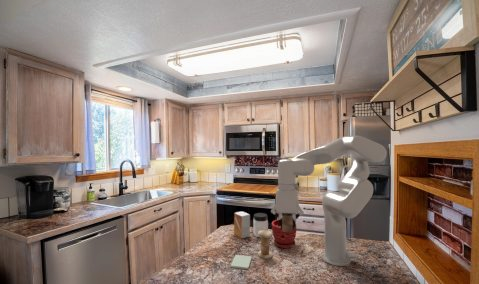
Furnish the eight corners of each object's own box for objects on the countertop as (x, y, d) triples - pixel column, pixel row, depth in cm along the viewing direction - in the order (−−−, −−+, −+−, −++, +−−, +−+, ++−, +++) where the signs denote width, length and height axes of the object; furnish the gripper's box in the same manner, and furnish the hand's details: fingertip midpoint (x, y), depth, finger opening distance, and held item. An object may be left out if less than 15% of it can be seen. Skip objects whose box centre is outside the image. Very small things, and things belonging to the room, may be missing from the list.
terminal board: (251, 258, 105) (251, 256, 105) (248, 269, 96) (248, 267, 96) (235, 256, 107) (235, 254, 107) (230, 267, 97) (230, 265, 97)
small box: (233, 234, 134) (233, 212, 135) (242, 231, 138) (242, 211, 138) (241, 238, 128) (241, 216, 128) (250, 236, 131) (250, 214, 132)
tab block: (292, 228, 100) (292, 210, 100) (292, 232, 95) (292, 213, 96) (282, 227, 101) (281, 210, 101) (282, 231, 96) (282, 213, 96)
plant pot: (273, 238, 128) (273, 217, 128) (296, 241, 124) (296, 219, 125) (270, 248, 115) (270, 225, 116) (296, 251, 112) (296, 228, 112)
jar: (251, 236, 131) (251, 216, 131) (255, 231, 139) (254, 212, 139) (266, 238, 128) (266, 217, 128) (269, 233, 136) (269, 213, 136)
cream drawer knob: (272, 252, 111) (272, 230, 111) (271, 259, 104) (271, 236, 104) (258, 251, 112) (258, 229, 112) (257, 258, 105) (257, 234, 106)
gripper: (305, 186, 101) (305, 226, 100) (268, 185, 104) (268, 224, 103) (307, 189, 93) (308, 232, 93) (267, 188, 96) (267, 230, 96)
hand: (287, 227), depth 98 cm, fingers closed on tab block, 4 cm apart
